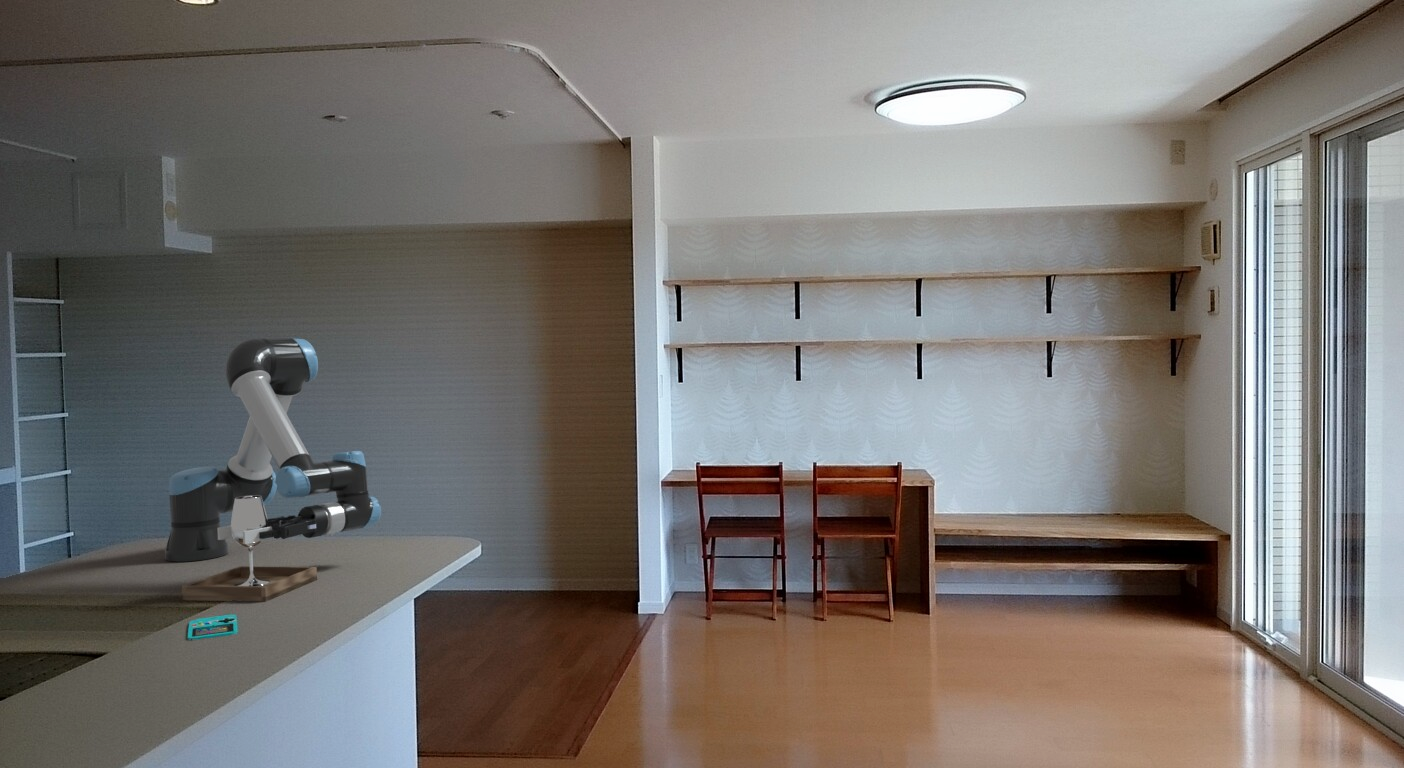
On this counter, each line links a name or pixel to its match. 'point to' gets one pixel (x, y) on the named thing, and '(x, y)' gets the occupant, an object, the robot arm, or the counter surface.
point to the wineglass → (248, 528)
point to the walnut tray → (224, 589)
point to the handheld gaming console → (212, 626)
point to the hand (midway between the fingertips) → (231, 535)
